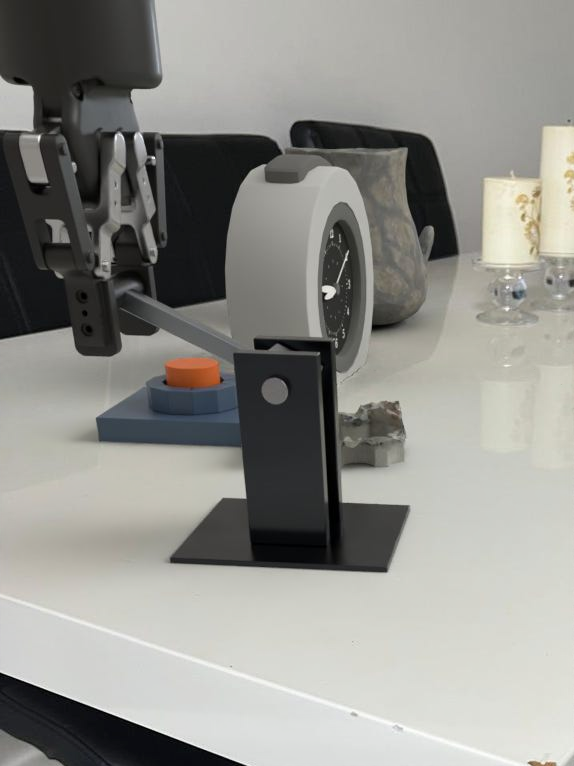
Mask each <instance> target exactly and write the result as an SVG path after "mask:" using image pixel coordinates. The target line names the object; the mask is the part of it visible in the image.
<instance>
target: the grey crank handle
mask: <svg viewBox="0 0 574 766" xmlns="http://www.w3.org/2000/svg"><path fill="white" fill-rule="evenodd" d="M107 280H113V285H114V292H115V299H116V306H117V310H119V309H122V310H124V311H126V312H128V313H130V314H132V315H134V316H136V317H138V318H140V319H142V320H144V321H146V322H148V323H150V324H152V325H154V326H157V327H159V328H160V329H161V330H162V331H165V332H166V333H169V334H171V335H173V336H175V337H177V338H179V339H181V340H183V341H185V342H187V343H189V344H191V345H193V346H195V347H197V348H199V349H201V350H203V351H205V352H207V353H210V354H212V355H213V356H216V357H217V358H219V359H222V360H223V361H225V362H228V363H229V364H232V365H234V360H233V353H234V352H235V351H237V350H239V349H242V350H255V349H253V348H251V347H249V346H247V345H245V344H243V343H241V342H239V341H237V340H235V339H233V338H232V336H229V335H226V334H225V333H222V332H221V331H219V330H217V329H215V328H214V327H213V328H212V327H211V326H208V325H207V324H204V323H202V322H201V321H198V319H197V320H196V319H195V318H192V317H190V316H189V315H187V314H184V313H183V312H180V311H178V310H176V309H175V308H173V307H170V306H168V305H166V304H164V303H162V302H160V301H158V300H157V301H156V300H154V299H152V298H150V297H148V296H146V295H145V293H146V284H145V281H144V279H143V278H142V277H141V275H139V274H138V273H137V272H135V271H132V270H125V271H122V272H119V273H116V274H113V275H110V278H109V279H107ZM269 350H272V351H292V350H290V349H288V348H286V347H284V346H282V345H280V344H276V345H274V346H273V347H272V348H271V349H269ZM322 369H323V366H322V365H321V371H322Z"/></svg>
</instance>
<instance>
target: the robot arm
mask: <svg viewBox="0 0 574 766" xmlns="http://www.w3.org/2000/svg"><path fill="white" fill-rule="evenodd" d="M155 2H156V1H155V0H0V77H1V79H2V80H3V81H5V82H6V83H7V84H9V85H15V86H24V87H31V88H32V92H33V93H32V95H33V96H32V97H33V99H32V100H33V116H32V127H33V128H32V129H33V130H31V131H29V132H27V131H25V132H6V133H4V134H3V137H2V149H3V153H4V157H5V160H6V164H7V168H8V172H9V174H10V178H11V182H12V185H13V189H14V193H15V196H16V199H17V203H18V207H19V211H20V215H21V217H22V220H23V225H24V228H25V233H26V236H27V238H28V242H29V245H30V249H31V252H32V257H33V260H34V263H35V265H36V267H37V269H39V270H47V271H50V270H51V271H53V272H54V274H55V276H56V277H57V278H58V279H63V281H64V287H65V294H66V299H67V300H66V301H67V305H68V306H67V307H68V313H69V318H70V324H71V329H72V330H71V331H72V335H73V336H72V337H73V343H74V348H75V350H76V351H77V353H78V354H80V355H81V356H83V357H102V358H110V357H114V356H115V355H118V354H119V353H120V352H121V351H122V349H123V342H122V335H125V336H132V337H133V336H137V337H139V336H140V337H152V336H153V335H156V334H157V333H158V332H159V331H160V329H161V328H159V327H157V326H154V325H152V324H150V323H148V322H146V321H144V320H142V319H140V318H138V317H136V316H134V315H132V314H130V313H128V312H126V311H124V310H122V309H119V310H117V306H116V299H115V292H114V285H113V280H107V279H109V278H110V275H113V274H116V273H119V272H122V271H125V270H132V271H135V272H137V273H138V274H139V275H141V277H142V278H143V279H144V281H145V284H146V293H145V295H146V296H148V297H150V298H152V299H154V300H156V301H158V299H157V298H158V297H157V291H156V290H157V289H156V282H155V275H154V274H155V273H154V265H153V264H156V263H157V260H158V255H159V253H158V252H159V251H158V248H166V247H167V244H168V233H167V231H168V230H167V209H166V208H167V207H166V185H165V164H164V163H165V161H164V160H165V159H164V141H163V138H162V135H161V133H160V132H157V131H140V125H139V122H138V118H137V115H136V111H135V107H134V102H133V99H132V92H133V90H153V89H156V88H158V87H159V86H160V85H161V83H162V81H163V78H164V77H163V76H164V73H163V67H162V66H163V65H162V57H161V47H160V40H159V31H158V22H157V20H158V19H157V12H156V11H157V10H156V4H155ZM48 225H49V226H50V227H51V232H52V233H51V234H52V238H51V235H50V233H49V228H48ZM90 233H91V236H90ZM51 239H52V240H51ZM112 263H116V264H112Z"/></svg>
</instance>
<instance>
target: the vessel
mask: <svg viewBox="0 0 574 766" xmlns="http://www.w3.org/2000/svg"><path fill="white" fill-rule="evenodd" d="M283 149H284V151H283V152H284V154H293V155H317V156H320V157H322V158H324V159H325V160H327V161H328V162H329V163H330V164H331V165H332V166H333V167H339V168H342V169H345V170H347V171H348V172H349V173H350V175H351V176H352V178H353V179H354V180H355V182H356V184H357V186H358V189H359V191H360V194H361V196H362V199H363V203H364V207H365V211H366V215H367V219H368V225H369V232H370V239H371V246H372V260H373V314H372V326H386V325H391V324H394V323H398V322H402V321H404V320H407V319H409V318H411V317H413V316H414V315H415V314H416V313H417V312H419V310H420V309H421V308H422V306H423V305H424V303H425V301H426V299H427V294H428V291H429V277H428V272H427V267H428V261H429V258H430V256H431V252H432V248H433V245H434V239H435V229H434V227H433V226H432V225H426V226H425V227H423V229H422V231H421V233H420V235H419V236H418V231H417V228H416V227H417V226H416V224H415V221H414V219H413V217H412V214H411V210H410V207H409V203H408V197H407V196H408V195H407V188H406V187H407V186H406V168H407V167H406V165H407V158H408V152H409V151H408V149H409V148H408V147H406V146H405V147H398V148H367V147H356V148H353V147H351V148H335V149H333V148H332V149H330V148H329V149H328V148H317V147H316V148H315V147H295V146H289V147H288V146H287V147H284V148H283Z"/></svg>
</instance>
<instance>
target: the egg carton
mask: <svg viewBox="0 0 574 766" xmlns="http://www.w3.org/2000/svg"><path fill="white" fill-rule="evenodd" d="M338 418H339V440H340V462H341V468H342V467H343V466H346V465H349V464H355V463H357V464H358V463H359V464H361V463H363V464H367V465H368V464H369V465H372V466H374V468H389V467H390V466H392V465H393V464H396V463H405V458H406V456H405V455H406V454H405V444H406V443H407V440H406V439H407V438H408V437H407V436H408V435H407V431H406V428H405V425H404V422H403V412H402V407H401V406H400V400H394V401H387V400H381V401H379V402H373V401H371V402H369V403H366V404H360V405H359V406H358V409H357V411H356V412H355V413H352V412H346V411H338Z"/></svg>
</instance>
